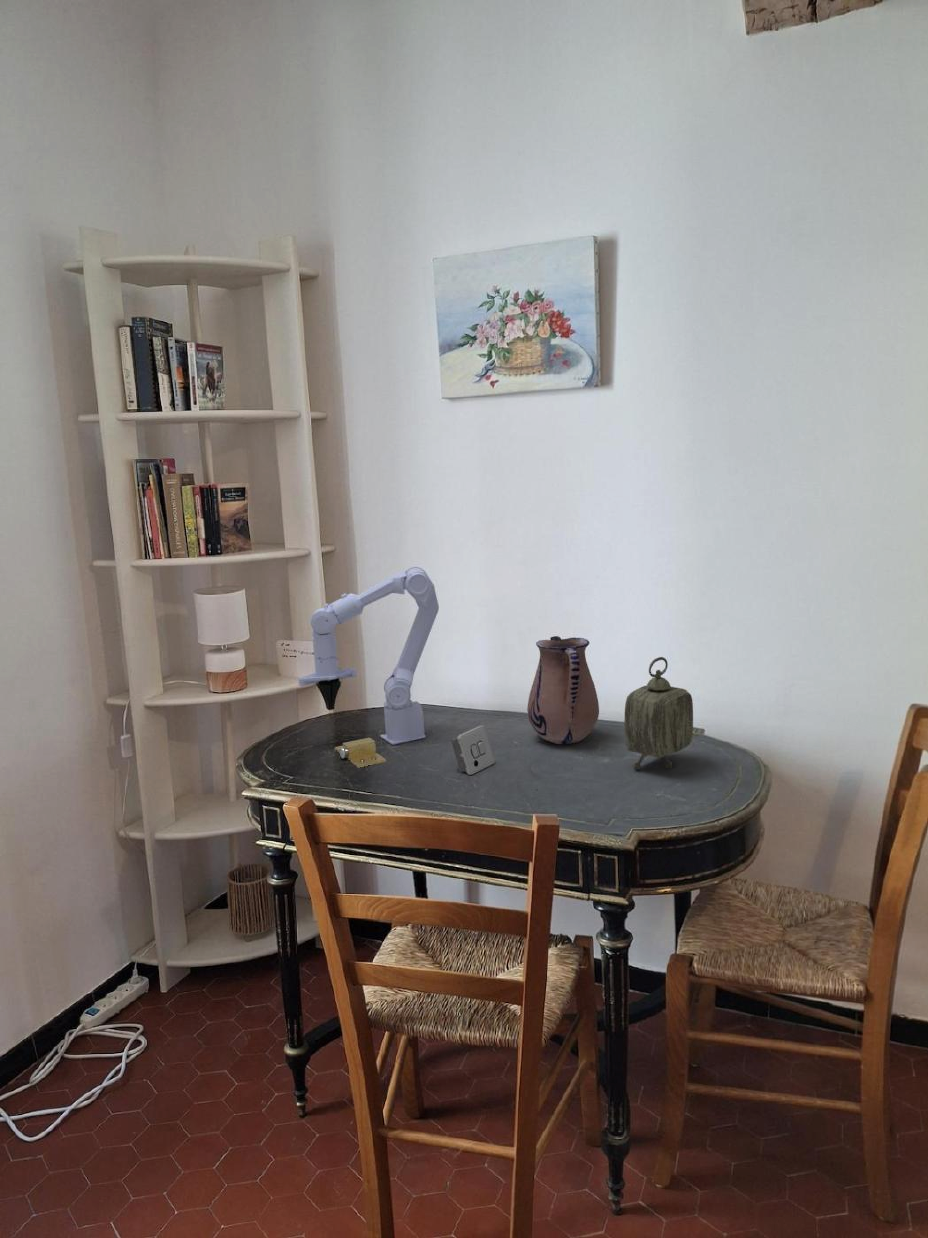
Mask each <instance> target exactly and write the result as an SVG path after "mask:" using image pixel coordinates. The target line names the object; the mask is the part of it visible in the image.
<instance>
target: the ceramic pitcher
mask: <svg viewBox="0 0 928 1238" xmlns="http://www.w3.org/2000/svg"><path fill="white" fill-rule="evenodd" d="M535 643H536V647H537V648H538V650H539V660H538V664H537V669H536V672H535V673H534V674H535V676H534V678H533V681H532V685H531V688H530V692H529V694H528V695H529V697H528V701H527V717H528V721H529V723H530V725H531V727H532V729H533V730H534V731H535V733H536V734H537V735H538V736H540V738H541V739H543V740H545V741H547V742H550V743H553V744H556V745H564V744H565V745H566V744H567V745H569V744H570V745H571V744H576V743H579V742H581V741H583V740H584V739H585V738H586V737H587V736H588V735H590V733H591V731H592V729H594V727H595V725H596V723H597V722H598V720H599V716H600V705H599V699H598V694H597V691H596V686H595V683H594V680H593V677H592V675H591V672H590V668H589V665H588V662H587V658H586V649H587V647H588V646H589V645H590V643H591V642H590V641H589V640H588V639H587V638H584V637H569V638H561V637H560V636H559V635H556V636H550V639H540V640H538V641H537V642H535Z"/></svg>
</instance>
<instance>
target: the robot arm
mask: <svg viewBox="0 0 928 1238" xmlns="http://www.w3.org/2000/svg"><path fill="white" fill-rule="evenodd" d="M405 590H406V592H407V593H408V594H409V595H410V596H411V597H412V598H413V599H414V601H415V603H416V605H417V606H418V609H417V611H416V615H415V618H414V621H413V622H412V625H411V628H410V631H409V633H408V636H407V639H406V640H405V643H404V646H403V648H402V651H401V653H400V656H399V659H398V662H397V664H396V666H395V667H394V669H393V671H392V673H391V675H390V676H389V677H388V678H387V679H385V682H384V685H383V689H384V693H385V702H384V703H383V711H384V727H385V734H380V738H381V739H383V740H385V741H386V742H387V743H389V744H391V745H397V744H403V743H407V742H412V741H416V740H421V739H425V738H426V734H425V724H424V723H425V722H424V712H423V708H422V705H421V704H420V702H418V701H412V700H411V696H412V695H411V694H412V693H411V687H412V686H413V685H412V684H413V682H414V675H415V672H416V669H417V667H418V664H419V662H420V659H421V657H422V654H423V651H424V649H425V646H426V644H427V641H428V639H429V636H430V633H431V631H432V628H433V626H434V624H435V623H434V622H435V621H436V619H437V618H436V617H437V615H438V612H439V609H440V607H439V602H438V598H437V597H438V596H437V593H436V588H435V585H434V583H433V580H431V578H430V577H429V575H428V573H427V572H426V570H424V569H423V568H422V567H420V566H412V567H409V568H408V569H406V571H405V570H402V571H399V572H398V573H394V574H393V575H391V576H389V577H387V578H386V579H384V580H382V581H381V582H379V583H377V584H376V585H373V586H372V587H370V588H368V589H366V590H365V591H363V592H361V593H360V594H354V593H352V592H351V593H349V594H347V593H343V594H341V595H340V596H341V598H339V599H337V600H335V601H333V602H331V603H330V604H329V603H325V604H324V607H320V608H318V609H316V610H315V611H314V612H313V613H312V615H311V619H310V627H311V628H312V637H313V639H312V645H313V647H312V648H313V656H314V657H313V658H314V667H315V673H312V674H308V675H304V676H300V677H298V678H297V679H298V686H300V687H306V686H308V685H315V686H316V687H317V688H318V690H319V692H320V694H321V697H322V698H323V701H324V704H325V707H326V709H327V710H328V711H332V710H335V704H336V699H337V696H338V692H339V689H340V688H341V687H342V682H341V680H343V679H349V678H357V670H356V668H347V669H346V668H344V669H339V659H338V657H339V656H338V647H337V645H338V644H337V637H336V636H335V634H336V633H335V627H336V626H340V625H341V626H342V624H345V623H346V622H348V621H350V620H352V619H354V618H356V617H358V616H359V615H362V614H363V611H364V608H365V607H366V606H368V605H371V604H373V603H374V602H376V601H379V600H381V599H383V598H385V597H387V596H389V595H392V594H398V595H405Z"/></svg>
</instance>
